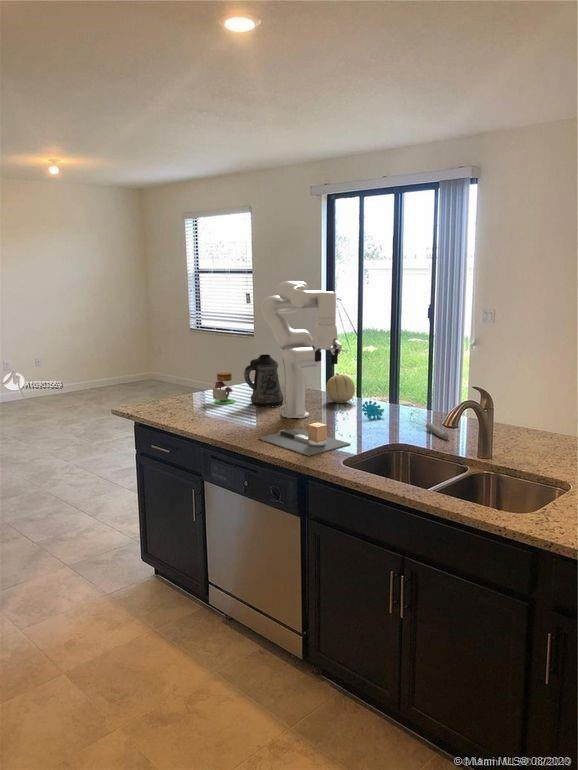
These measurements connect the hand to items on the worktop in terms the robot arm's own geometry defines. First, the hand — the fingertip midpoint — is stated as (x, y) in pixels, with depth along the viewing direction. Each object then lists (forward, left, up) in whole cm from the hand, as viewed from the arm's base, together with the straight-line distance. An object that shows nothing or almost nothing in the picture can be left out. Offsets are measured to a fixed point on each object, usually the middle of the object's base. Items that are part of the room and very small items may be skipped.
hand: (326, 362), depth 250 cm
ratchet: (+8, -21, -28) cm, 36 cm away
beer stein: (-52, +9, -28) cm, 60 cm away
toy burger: (-71, -3, -28) cm, 77 cm away
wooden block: (+17, -21, -26) cm, 37 cm away
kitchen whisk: (+31, +31, -29) cm, 52 cm away
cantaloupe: (-30, +40, -28) cm, 58 cm away
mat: (+9, -21, -28) cm, 36 cm away
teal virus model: (+2, +29, -29) cm, 40 cm away
